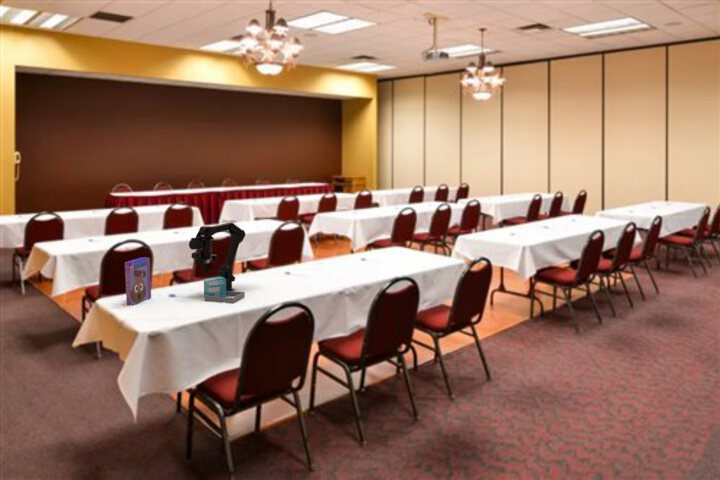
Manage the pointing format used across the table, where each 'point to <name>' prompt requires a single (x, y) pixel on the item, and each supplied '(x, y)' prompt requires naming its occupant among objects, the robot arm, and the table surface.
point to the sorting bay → (235, 298)
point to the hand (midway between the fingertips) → (207, 273)
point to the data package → (215, 287)
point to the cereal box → (138, 280)
